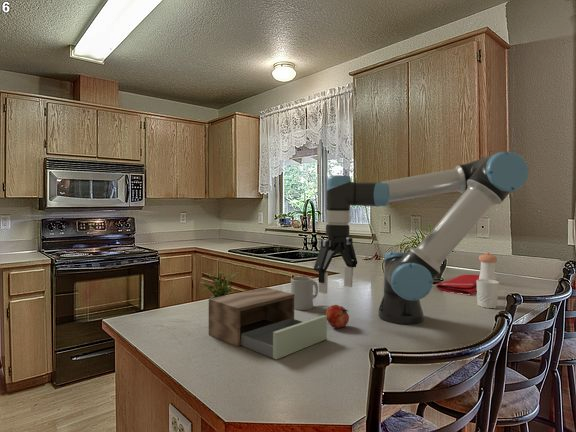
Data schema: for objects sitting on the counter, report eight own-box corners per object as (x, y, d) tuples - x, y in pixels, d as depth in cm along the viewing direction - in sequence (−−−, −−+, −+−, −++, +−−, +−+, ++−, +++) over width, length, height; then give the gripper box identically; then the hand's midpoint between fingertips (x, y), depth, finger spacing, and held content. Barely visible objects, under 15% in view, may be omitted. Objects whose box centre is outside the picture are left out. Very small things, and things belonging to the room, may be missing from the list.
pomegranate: (322, 334, 124) (339, 322, 117) (316, 312, 128) (332, 299, 121) (340, 332, 128) (358, 320, 121) (333, 312, 132) (350, 299, 125)
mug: (299, 311, 141) (300, 282, 141) (286, 306, 148) (286, 278, 148) (324, 306, 149) (324, 278, 148) (310, 301, 155) (310, 274, 155)
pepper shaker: (492, 299, 161) (493, 254, 161) (474, 296, 167) (475, 252, 166) (499, 296, 166) (500, 252, 166) (481, 293, 172) (482, 251, 171)
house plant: (227, 306, 147) (227, 264, 146) (250, 314, 137) (250, 269, 137) (194, 314, 137) (194, 268, 136) (216, 323, 127) (216, 274, 127)
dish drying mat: (494, 282, 199) (494, 275, 199) (471, 296, 168) (471, 288, 168) (462, 278, 209) (462, 271, 209) (434, 291, 178) (435, 283, 178)
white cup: (500, 306, 151) (501, 281, 151) (495, 310, 145) (495, 284, 145) (479, 302, 156) (480, 278, 156) (472, 306, 151) (473, 281, 150)
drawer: (326, 338, 113) (326, 316, 113) (276, 359, 98) (276, 333, 97) (290, 327, 123) (290, 306, 123) (239, 344, 108) (239, 320, 108)
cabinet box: (294, 327, 123) (294, 294, 123) (237, 346, 107) (238, 308, 106) (264, 318, 133) (264, 287, 132) (208, 334, 116) (208, 299, 116)
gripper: (350, 222, 135) (348, 282, 136) (303, 224, 117) (301, 293, 118) (368, 223, 130) (367, 285, 131) (322, 225, 112) (320, 298, 113)
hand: (336, 289), depth 124 cm, fingers open, 13 cm apart
